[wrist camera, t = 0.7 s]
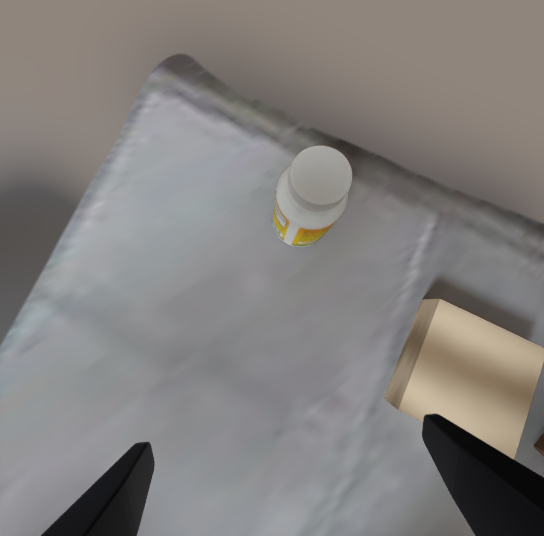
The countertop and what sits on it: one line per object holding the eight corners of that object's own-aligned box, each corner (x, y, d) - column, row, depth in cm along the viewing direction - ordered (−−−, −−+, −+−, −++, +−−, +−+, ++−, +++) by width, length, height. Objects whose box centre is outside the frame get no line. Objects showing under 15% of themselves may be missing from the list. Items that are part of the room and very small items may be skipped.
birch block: (480, 445, 24) (512, 465, 21) (381, 396, 24) (398, 409, 21) (513, 344, 25) (547, 349, 22) (419, 299, 25) (440, 298, 22)
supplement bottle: (262, 231, 25) (261, 187, 16) (289, 186, 26) (304, 119, 16) (310, 258, 25) (338, 230, 16) (335, 213, 26) (377, 160, 16)
